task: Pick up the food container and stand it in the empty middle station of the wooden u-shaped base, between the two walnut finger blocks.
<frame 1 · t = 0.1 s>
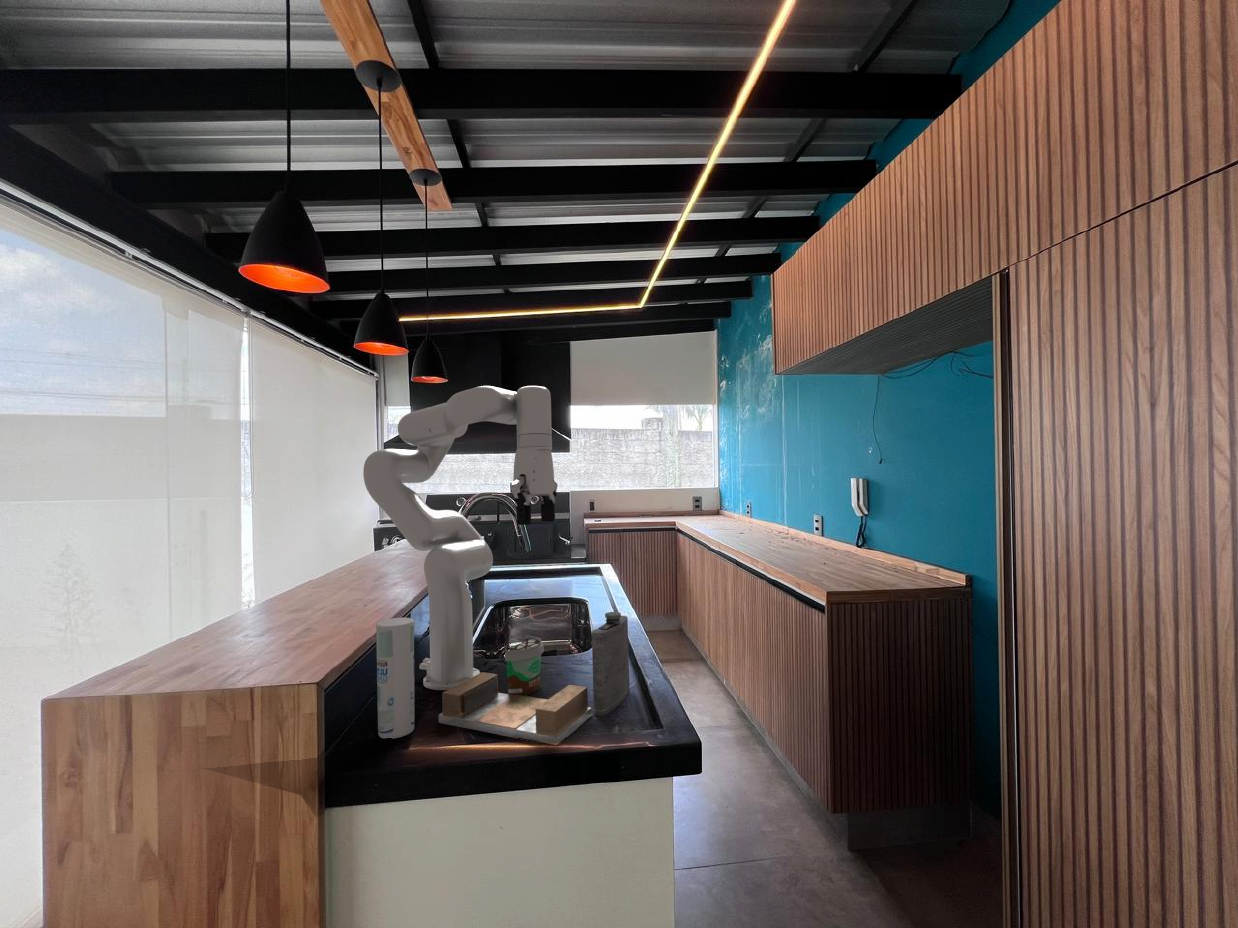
hand: (536, 522, 116), 37 cm above the worktop, tool pointing down, fingers open, 9 cm apart
wooden u-shaped base: (515, 718, 103), on the worktop
flask: (614, 702, 110), on the worktop
food container: (530, 689, 118), on the worktop
spray can: (396, 731, 100), on the worktop
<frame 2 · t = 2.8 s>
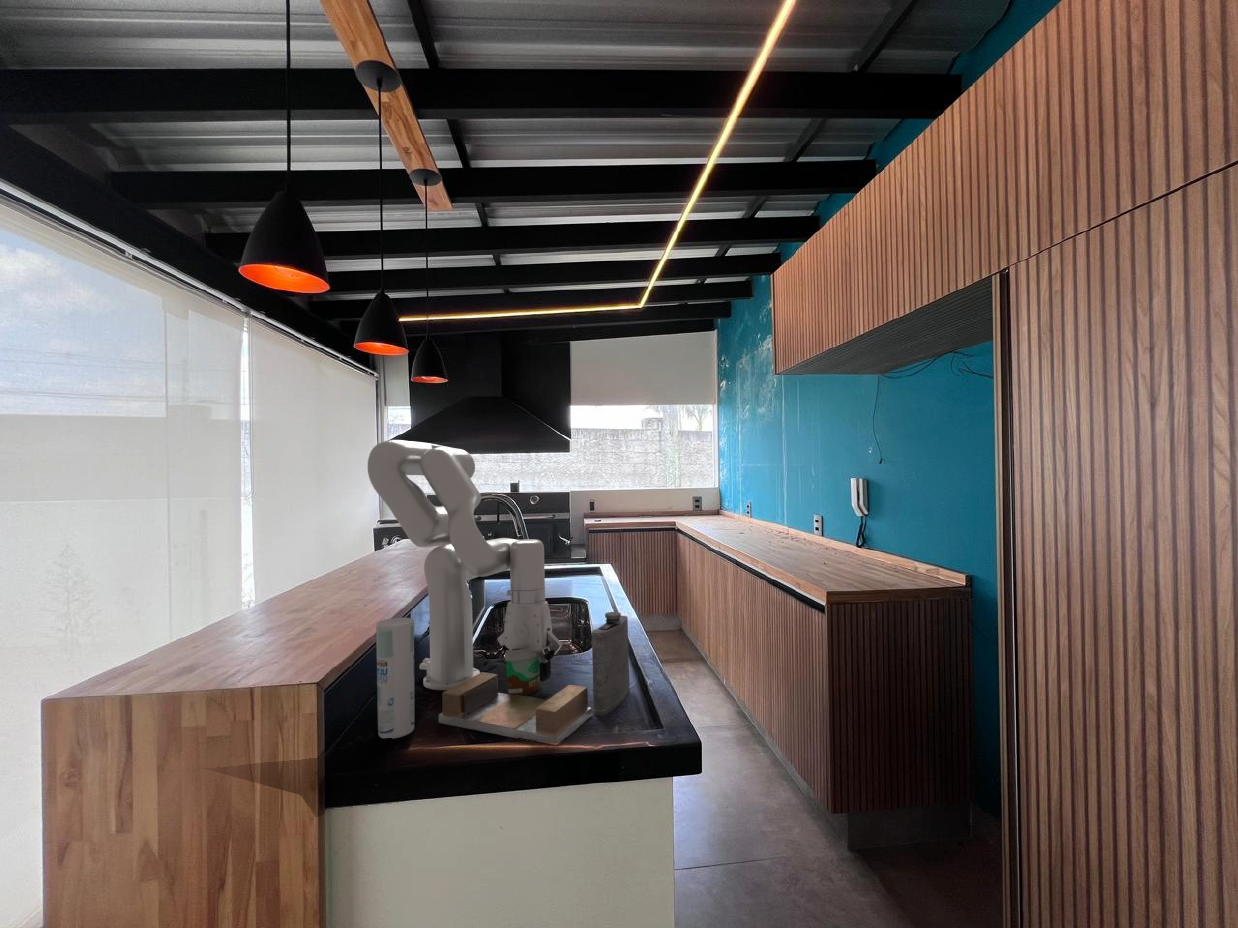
hand: (529, 676, 119), 3 cm above the worktop, tool pointing down, fingers open, 7 cm apart
food container: (530, 689, 118), on the worktop, touching gripper
everything else where it was.
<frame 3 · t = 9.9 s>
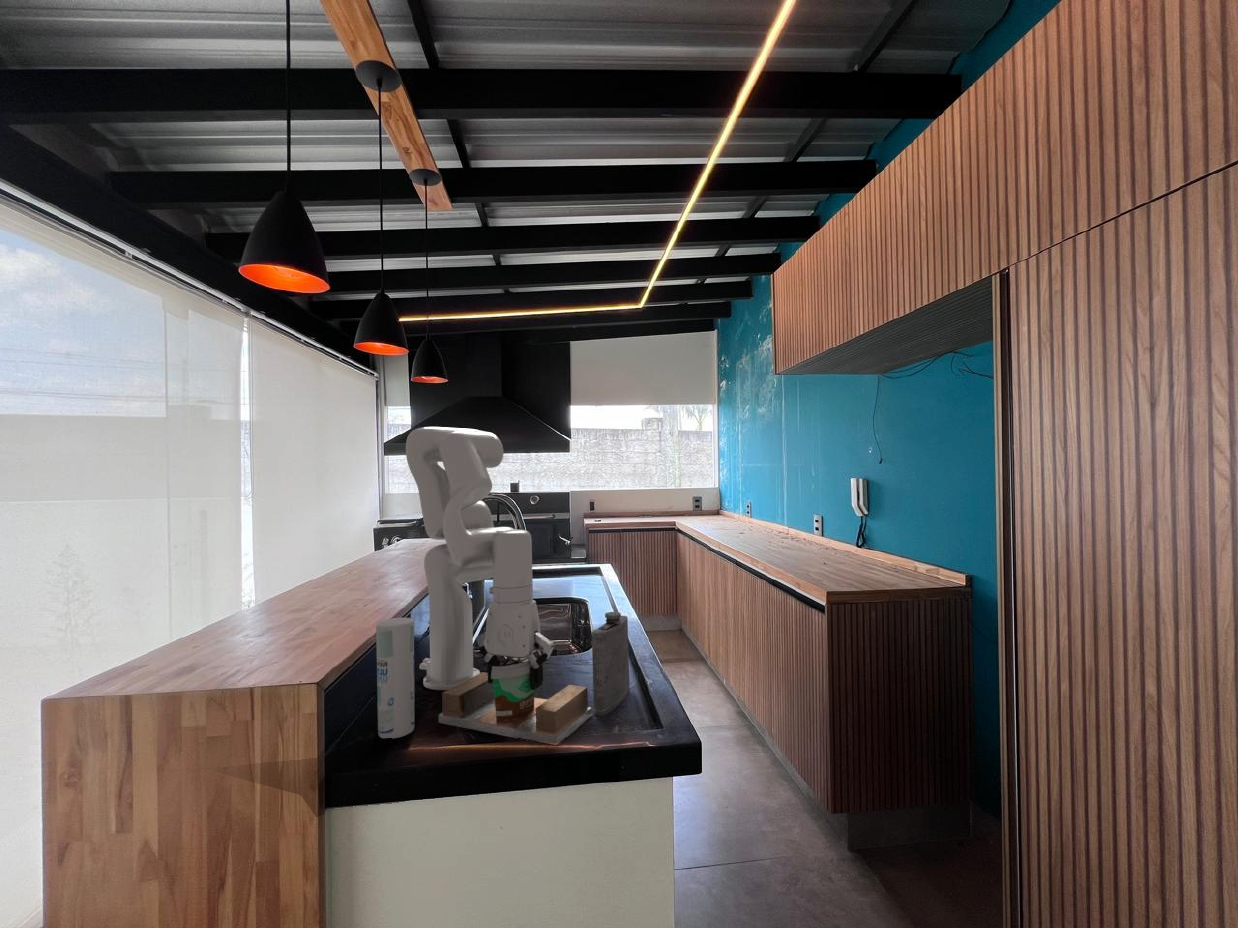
hand: (515, 683, 103), 7 cm above the worktop, tool pointing down, fingers open, 9 cm apart
food container: (522, 711, 103), point 2 cm above the worktop, touching gripper, wooden u-shaped base
everything else where it was.
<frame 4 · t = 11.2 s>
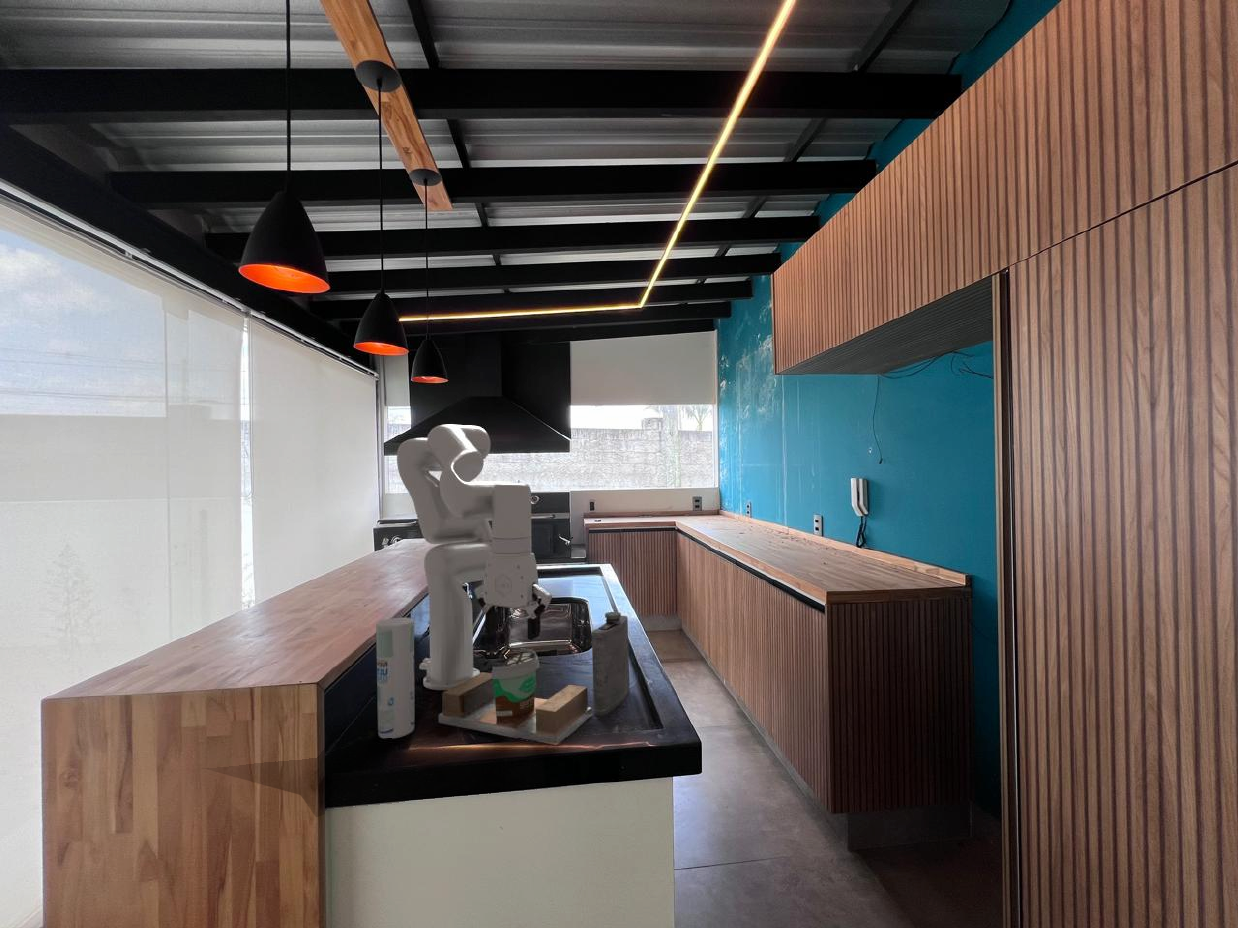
hand: (512, 634, 104), 16 cm above the worktop, tool pointing down, fingers open, 9 cm apart
food container: (523, 711, 103), point 2 cm above the worktop, touching wooden u-shaped base
everything else where it was.
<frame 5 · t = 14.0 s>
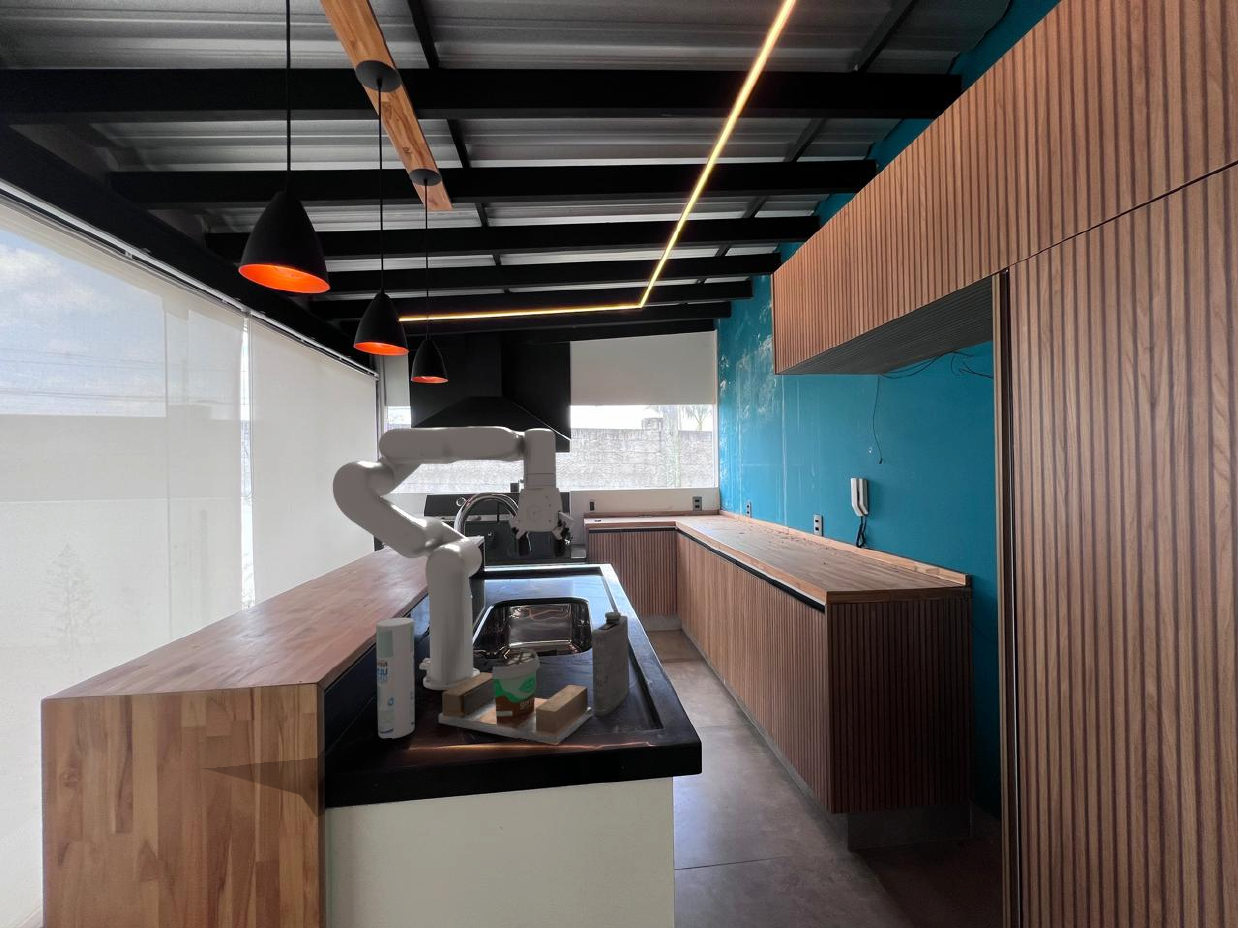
hand: (541, 555, 125), 28 cm above the worktop, tool pointing down, fingers open, 9 cm apart
nothing on the worktop moved.
at the end: food container 1.6 cm off-centre on the wooden u-shaped base, point 1.5 cm above the wooden u-shaped base's base; food container tilted 0°; the gripper is holding nothing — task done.
